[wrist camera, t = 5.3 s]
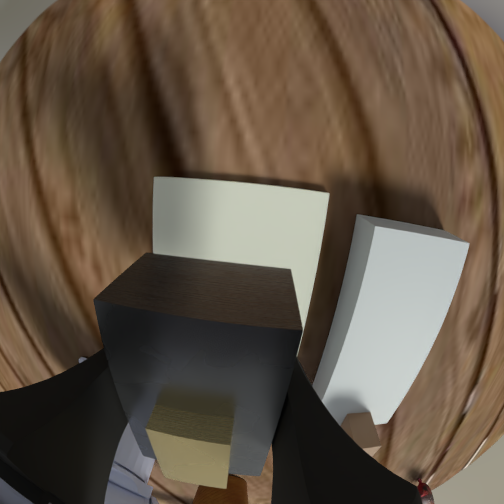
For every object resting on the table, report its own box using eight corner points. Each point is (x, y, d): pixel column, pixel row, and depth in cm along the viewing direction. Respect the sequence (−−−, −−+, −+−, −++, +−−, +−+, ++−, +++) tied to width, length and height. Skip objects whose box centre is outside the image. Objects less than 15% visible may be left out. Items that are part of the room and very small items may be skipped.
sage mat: (161, 342, 19) (159, 346, 19) (157, 176, 15) (153, 177, 15) (294, 359, 19) (295, 363, 18) (327, 192, 15) (329, 193, 15)
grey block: (163, 401, 12) (136, 473, 7) (146, 252, 9) (71, 320, 5) (262, 416, 12) (259, 495, 7) (290, 268, 9) (308, 359, 5)
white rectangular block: (306, 402, 21) (313, 464, 14) (356, 214, 15) (407, 248, 9) (378, 399, 20) (397, 453, 14) (444, 230, 15) (505, 264, 9)
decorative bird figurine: (416, 487, 32) (426, 520, 22) (404, 472, 27) (416, 516, 18) (428, 480, 31) (439, 513, 22) (420, 464, 27) (434, 508, 17)
